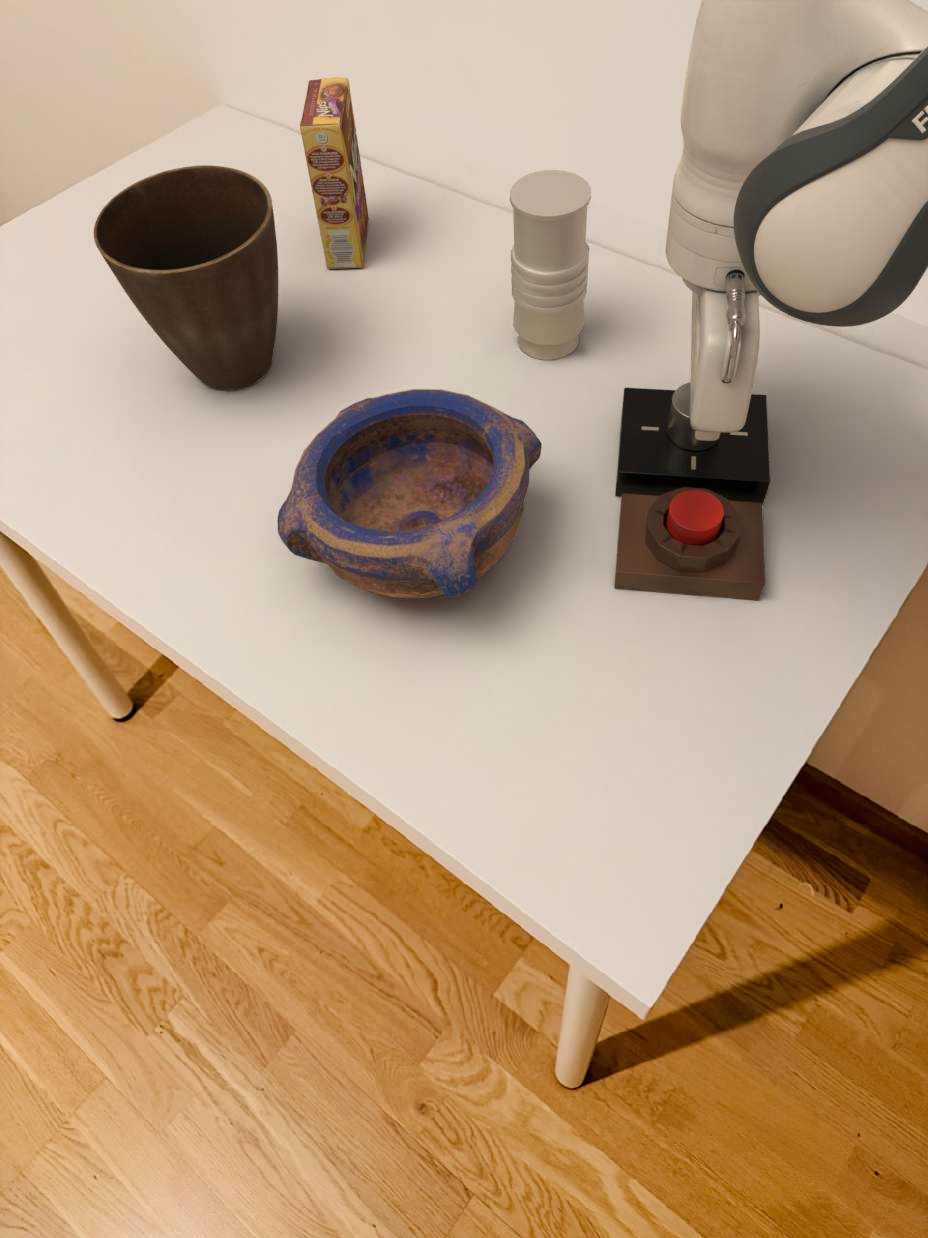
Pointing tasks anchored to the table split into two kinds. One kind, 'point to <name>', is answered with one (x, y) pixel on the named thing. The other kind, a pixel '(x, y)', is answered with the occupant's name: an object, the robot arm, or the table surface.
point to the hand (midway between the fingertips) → (706, 391)
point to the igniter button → (695, 517)
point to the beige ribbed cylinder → (549, 261)
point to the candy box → (335, 171)
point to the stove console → (690, 452)
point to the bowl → (411, 492)
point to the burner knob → (684, 422)
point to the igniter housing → (690, 550)
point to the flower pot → (199, 267)
